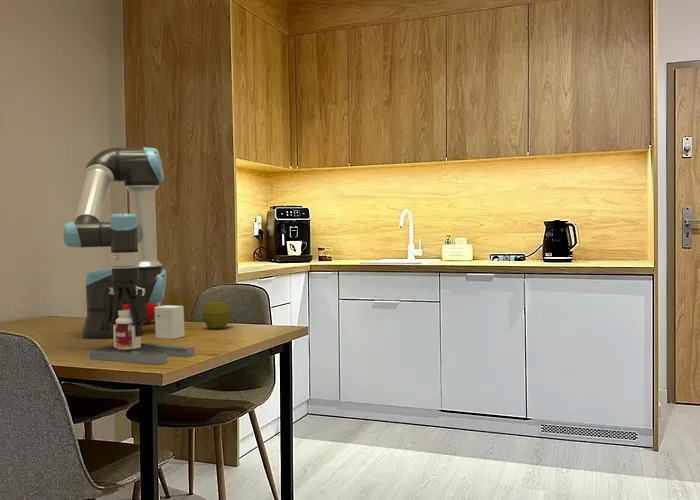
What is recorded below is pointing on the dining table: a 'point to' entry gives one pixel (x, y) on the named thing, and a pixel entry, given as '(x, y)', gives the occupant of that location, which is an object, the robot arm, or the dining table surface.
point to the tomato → (149, 310)
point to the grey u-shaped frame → (142, 353)
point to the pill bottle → (124, 330)
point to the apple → (216, 315)
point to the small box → (169, 322)
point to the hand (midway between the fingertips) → (127, 347)
